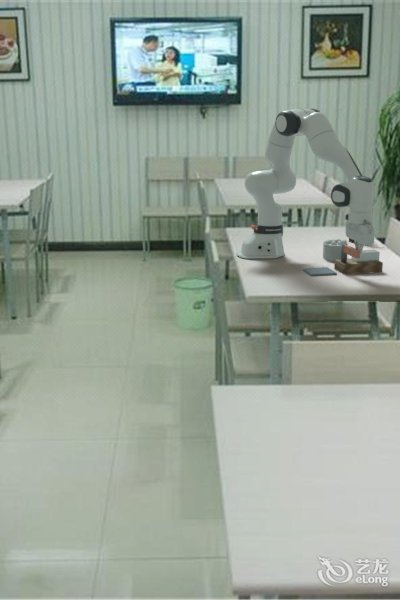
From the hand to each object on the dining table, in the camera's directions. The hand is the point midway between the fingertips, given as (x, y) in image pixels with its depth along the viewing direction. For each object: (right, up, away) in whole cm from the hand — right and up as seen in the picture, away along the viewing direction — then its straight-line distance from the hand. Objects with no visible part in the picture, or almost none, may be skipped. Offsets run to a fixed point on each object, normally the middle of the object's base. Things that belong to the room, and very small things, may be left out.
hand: (358, 252), depth 276 cm
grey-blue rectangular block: (+6, -3, +13) cm, 14 cm away
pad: (-14, -8, +10) cm, 19 cm away
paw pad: (-2, -1, +36) cm, 36 cm away
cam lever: (-2, -5, +5) cm, 7 cm away
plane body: (+3, -7, +13) cm, 15 cm away
